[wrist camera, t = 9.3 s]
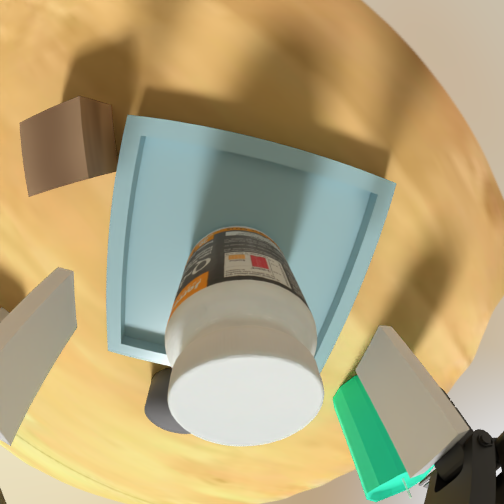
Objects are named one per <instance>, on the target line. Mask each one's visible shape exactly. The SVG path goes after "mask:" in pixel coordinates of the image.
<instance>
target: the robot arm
mask: <svg viewBox="0 0 504 504" xmlns="http://www.w3.org/2000/svg"><path fill="white" fill-rule="evenodd" d="M76 328H77V322H76V311H75V296H74V272H73V271H71V270H67V269H63V268H59V267H58V268H57V269H55V270H54V271H53V272H52V273H51V274H50V275H49V276H48V277H46V278H45V279H44V280H43V281H42V282H41V283H40V284H39V285H38V286H37V287H36V288H35V289H33V290H32V291H31V292H30V293H29V294H28V295H27V296H26V297H25V298H24V299H23V300H22V301H21V302H20V303H19V304H18V305H17V306H16V307H15V308H14V309H13V310H12V311H11V312H10V313H9V314H8V315H7V316H6V317H5V318H4V319H3V320H2V321H1V322H0V440H2V441H3V442H5V443H7V444H8V445H10V446H11V444H12V442H13V439H14V437H15V435H16V433H17V431H18V429H19V427H20V425H21V423H22V421H23V419H24V417H25V415H26V413H27V411H28V409H29V407H30V405H31V403H32V401H33V399H34V398H35V396H36V394H37V392H38V390H39V389H40V387H41V385H42V383H43V381H44V380H45V378H46V376H47V375H48V373H49V371H50V369H51V368H52V366H53V364H54V363H55V361H56V360H57V358H58V356H59V355H60V353H61V351H62V350H63V348H64V347H65V345H66V344H67V342H68V340H69V339H70V337H71V336H72V334H73V333H74V331H75V330H76ZM355 371H356V373H357V375H358V377H359V379H360V381H361V382H362V384H363V386H364V388H365V390H366V392H367V394H368V396H369V397H370V399H371V401H372V403H373V405H374V407H375V409H376V411H377V413H378V415H379V417H380V419H381V421H382V422H383V424H384V426H385V428H386V430H387V432H388V434H389V436H390V438H391V440H392V442H393V444H394V446H395V448H396V450H397V452H398V454H399V456H400V458H401V460H402V462H403V464H404V467H405V469H406V471H407V473H408V475H409V477H410V478H412V477H415V476H418V475H421V474H423V473H425V472H426V471H427V470H428V469H429V468H430V467H432V466H433V465H434V466H435V468H436V469H435V470H434V471H433V472H431V473H430V474H429V475H428V476H426V477H425V478H424V479H423V480H422V481H420V483H419V486H421V485H422V484H424V483H425V482H426V481H428V480H430V481H429V482H428V483H427V484H425V485H424V487H426V488H428V490H427V494H426V498H425V502H424V504H504V432H503V433H502V434H501V435H500V436H499V437H498V438H492V437H491V436H490V435H489V434H488V433H487V432H485V431H484V430H479V429H478V430H475V431H473V430H472V429H471V427H470V426H469V425H468V423H467V422H466V420H465V419H464V417H463V416H462V415H461V413H460V412H459V410H458V409H457V408H456V407H455V405H454V404H453V402H452V401H450V398H449V397H448V395H447V394H446V393H445V391H444V390H443V389H441V388H440V387H439V386H438V384H437V383H436V382H435V380H434V379H433V378H432V376H431V375H430V374H429V373H428V371H427V370H426V369H425V367H424V366H423V365H422V364H421V362H420V361H419V360H418V358H417V357H416V356H415V355H414V353H413V352H412V351H411V350H410V348H409V347H408V346H407V345H406V343H405V342H404V341H403V340H402V339H401V337H400V336H399V335H398V334H397V332H396V331H395V330H394V329H393V328H392V326H382V325H379V327H378V329H377V331H376V333H375V335H374V337H373V339H372V340H371V342H370V344H369V346H368V348H367V350H366V352H365V353H364V355H363V357H362V359H361V361H360V362H359V364H358V366H357V368H356V369H355ZM500 467H501V468H502V472H501V473H500V474H499V475H498V476H497V477H496V470H497V469H499V468H500ZM0 504H6V502H5V499H4V497H3V494H2V491H1V489H0Z"/></svg>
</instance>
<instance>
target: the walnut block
mask: <svg viewBox="0 0 504 504" xmlns="http://www.w3.org/2000/svg"><path fill="white" fill-rule="evenodd" d="M20 136H21V147H22V156H23V164H24V171H25V178H26V184H27V190H28V195H29V197H30V196H33V195H36V194H39V193H42V192H45V191H48V190H51V189H54V188H58V187H61V186H64V185H68V184H71V183H74V182H78V181H82V180H85V179H89V178H93V177H96V176H100V175H104V174H108V173H112V172H116V171H117V165H118V159H117V152H116V144H115V136H114V128H113V118H112V107H111V105H109V104H106V103H102V102H99V101H96V100H92V99H89V98H85V97H82V96H78V97H75V98H73V99H70V100H68V101H65V102H63V103H61V104H58V105H56V106H54V107H52V108H49V109H47V110H45V111H43V112H41V113H39V114H36V115H34V116H32V117H30V118H28V119H26V120H24V121H23V122H21V123H20Z"/></svg>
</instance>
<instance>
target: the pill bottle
mask: <svg viewBox="0 0 504 504" xmlns="http://www.w3.org/2000/svg"><path fill="white" fill-rule="evenodd" d="M316 346H317V330H316V324H315V321H314V318H313V315H312V313H311V311H310V309H309V307H308V304H307V302H306V300H305V298H304V296H303V294H302V292H301V289H300V287H299V285H298V283H297V281H296V279H295V277H294V275H293V273H292V271H291V269H290V267H289V265H288V263H287V260H286V258H285V257H284V255H283V253H282V252H281V250H280V248H279V247H278V245H277V244H276V243H275V242H274V241H273V240H272V239H271V238H270V237H269V236H267V235H266V234H265V233H263V232H261V231H259V230H257V229H254V228H251V227H246V226H229V227H223V228H220V229H217V230H215V231H213V232H211V233H209V234H208V235H206V236H205V237H203V238H202V239H201V240H200V241H199V242H198V243H197V244H196V246H195V247H194V248H193V250H192V252H191V253H190V256H189V258H188V260H187V263H186V266H185V269H184V272H183V275H182V279H181V282H180V285H179V288H178V291H177V293H176V296H175V300H174V303H173V307H172V310H171V313H170V317H169V320H168V323H167V327H166V330H165V350H166V355H167V358H168V361H169V363H170V365H171V367H172V372H171V376H170V382H169V387H168V406H169V409H170V412H171V414H172V416H173V417H174V419H175V420H176V421H177V422H178V423H179V424H180V425H181V426H182V427H183V428H184V429H185V430H187V431H188V432H190V433H191V434H193V435H195V436H197V437H199V438H202V439H204V440H207V441H210V442H213V443H217V444H222V445H228V446H254V445H262V444H267V443H271V442H275V441H278V440H281V439H284V438H286V437H288V436H290V435H292V434H294V433H296V432H297V431H299V430H301V429H302V428H304V427H305V426H306V425H307V424H308V423H309V422H310V421H312V420H313V419H314V418H315V416H316V415H317V413H318V412H319V410H320V408H321V406H322V403H323V399H324V388H323V382H322V379H321V376H320V373H319V370H318V367H317V364H316V361H315V359H314V355H315V352H316Z"/></svg>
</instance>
